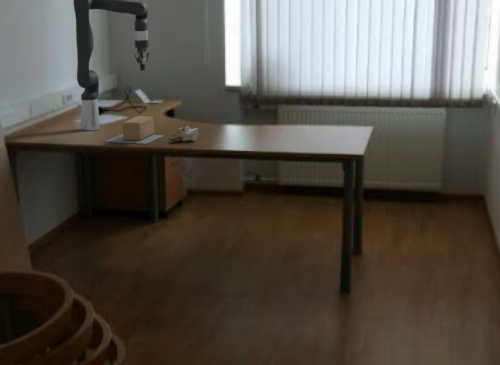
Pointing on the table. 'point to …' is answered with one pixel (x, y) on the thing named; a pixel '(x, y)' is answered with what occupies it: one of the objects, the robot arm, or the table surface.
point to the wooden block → (138, 128)
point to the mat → (144, 141)
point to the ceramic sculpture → (185, 134)
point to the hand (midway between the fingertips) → (142, 70)
